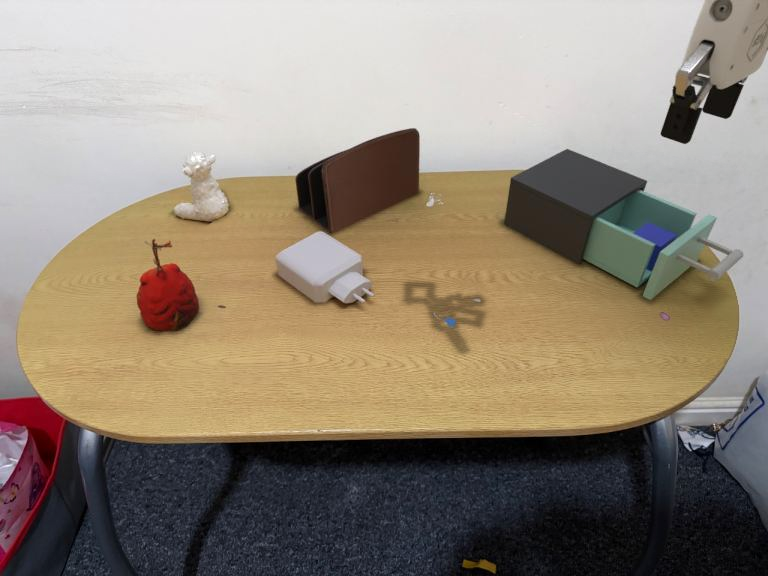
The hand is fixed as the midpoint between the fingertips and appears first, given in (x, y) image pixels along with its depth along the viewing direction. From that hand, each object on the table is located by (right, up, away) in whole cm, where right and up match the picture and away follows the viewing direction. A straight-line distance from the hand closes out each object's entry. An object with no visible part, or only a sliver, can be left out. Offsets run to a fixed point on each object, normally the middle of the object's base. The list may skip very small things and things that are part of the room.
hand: (695, 126), depth 62 cm
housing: (-6, -9, +27) cm, 29 cm away
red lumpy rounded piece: (-65, -23, +13) cm, 71 cm away
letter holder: (-41, -4, +34) cm, 53 cm away
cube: (+3, -14, +17) cm, 23 cm away
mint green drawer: (+3, -16, +17) cm, 24 cm away
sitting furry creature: (-67, -6, +33) cm, 75 cm away
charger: (-44, -19, +17) cm, 51 cm away
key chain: (-27, -22, +13) cm, 37 cm away
